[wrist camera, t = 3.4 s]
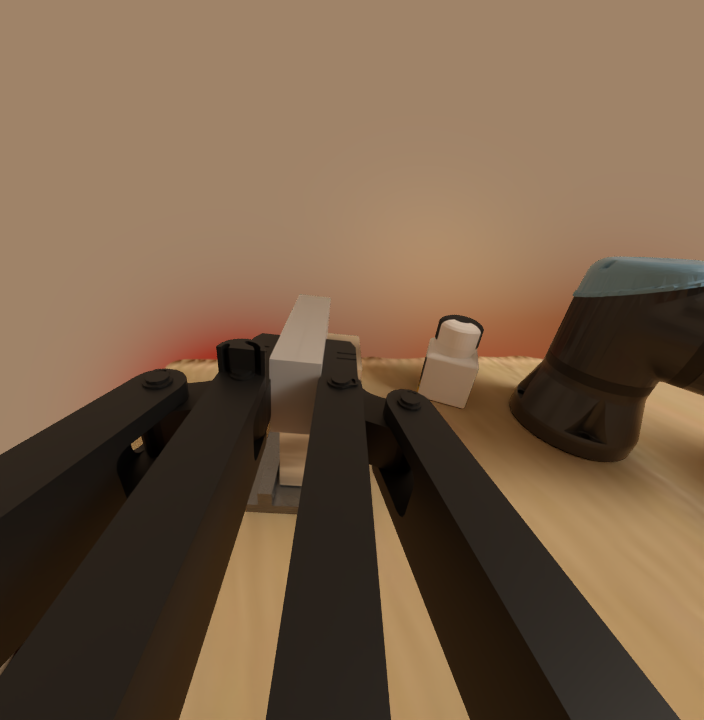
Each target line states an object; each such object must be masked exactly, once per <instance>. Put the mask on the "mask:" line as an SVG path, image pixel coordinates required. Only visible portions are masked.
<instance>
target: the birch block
mask: <svg viewBox="0 0 704 720" xmlns="http://www.w3.org/2000/svg"><path fill="white" fill-rule="evenodd" d="M327 339H332V340H341V341H350V342H351V343H352V344H353V345H354V346H355V347H356V357H357V371H358V379H359V380H360V381H361V376H362V361H361V351H360V341H359V336H352V335H341V334H331V333H328V335H327ZM308 442H309V435H306V434H294V433H281V432H280V485H293V486H302V481H303V474H304V468H305V461H306V455H307V448H308Z"/></svg>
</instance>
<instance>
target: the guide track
mask: <svg viewBox="0 0 704 720" xmlns="http://www.w3.org/2000/svg"><path fill="white" fill-rule="evenodd" d="M301 487H302V486H293V485H280V432H270V431H269V434H268V437H267V440H266V446H265V449H264V452H263V455H262V459H261V462H260V465H259V468H258V471H257V474H256V477H255V481H254V484H253V487H252V490H251V493H250V496H249V500H248V503H247V506H246V509H247V512H266V513H285V514H297V513H298V507H299V500H300V494H301Z"/></svg>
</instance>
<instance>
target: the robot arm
mask: <svg viewBox="0 0 704 720" xmlns="http://www.w3.org/2000/svg"><path fill="white" fill-rule="evenodd" d="M573 296H574V298H573V300H572V302H571V304H570V306H569V308H568V310H567V312H566V314H565V317H564V319H563V321H562V323H561V325H560V327H559V329H558V331H557V333H556V335H555V337H554V339H553V341H552V343H551V345H550V348H549V350H548V352H547V354H546V356H545V358H544V359H543V361H542V362H541V363H540V364H539V365H538V366H537V367H536V368H535V369H534V370H533V371H532V372H531V373H530V374H529V375H528V376H527V377H526V378H525V379H524V380H523V381H521V382H520V383H519V384H518V385H517V387H516V388H515V390H514V392H513V394H512V397H511V399H510V408H511V411H512V413H513V414H514V416H515V417H516V418H517V420H518V421H519V422H520V423H521V424H522V425H523V426H524V427H526V428H527V429H528V430H529V431H530V432H532V433H533V434H535V435H536V436H537V437H539V438H541V439H542V440H544V441H545V442H547V443H549V444H551V445H553V446H555V447H557V448H559V449H561V450H563V451H566V452H568V453H571V454H573V455H576V456H579V457H583V458H586V459H591V460H596V461H603V462H614V461H620V460H622V459H624V458H626V457H627V456H628V455H629V453H630V452H631V451H632V449H633V448H634V447H635V446H636V444H637V442H638V439H639V434H640V429H641V423H642V418H643V412H644V407H645V402H646V399H647V397H648V396H649V395H650V393H651V392H652V390H653V389H654V388H655V386H656V385H657V384H658V382H659V381H660V382H665V383H668V384H671V385H673V386H676V387H679V388H682V389H685V390H688V391H691V392H694V393H697V394H700V395H702V396H704V261H699V260H686V259H669V258H648V257H608V258H604V259H601V260H598V261H597V262H595V263H594V264H593V265H592V266H591V267H590V268H589V269H588V271H587V273H586V275H585V276H584V278H583V280H582V282H581V283H580V285H579V287H578V289H577V290H576V291H575V292H574V294H573ZM330 302H331V298H329V297H320V296H311V295H302V294H300V295H299V297H298V299H297V301H296V303H295V305H294V308H293V309H292V312H291V314H290V316H289V318H288V320H287V322H286V324H285V326H284V329H283V331H282V333H281V335H273V334H264V333H262V334H260V335H258V336H256V337H254V338H253V339H252V340H251V339H233V340H228V341H225V342H222V343H221V344H219V345H217V347H216V349H217V358H218V368H219V372H218V374H217V375H216V377H215V378H214V379H213V380H212V381H206V382H196V383H187V378H186V376H185V375H184V373H183V372H180V371H178V370H173V369H155V370H153V371H149V372H145V373H143V374H140V375H138V376H136V377H134V378H132V379H131V380H129V381H127V382H126V383H124V384H122V385H121V386H119V387H117V388H115V389H113V390H112V391H110V392H108V393H107V394H105V395H103V396H102V397H100V398H98V399H96V400H94V401H93V402H91V403H89V404H88V405H86V406H84V407H82V408H81V409H79V410H77V411H75V412H74V413H72V414H70V415H69V416H67V417H65V418H64V419H62V420H60V421H58V422H56V423H55V424H53V425H51V426H50V427H48V428H46V429H44V430H43V431H41V432H39V433H37V434H36V435H34V436H33V437H30V438H29V439H27V440H25V441H24V442H22V443H20V444H18V445H17V446H15V447H13V448H12V449H10V450H8V451H6V452H5V453H3V454H1V455H0V667H1V666H2V665H3V664H4V663H5V662H6V661H7V660H8V659H9V658H10V657H11V655H12V654H13V653H14V652H15V651H16V650H17V649H18V648H19V647H20V646H21V645H22V644H23V643H24V644H23V645H22V646H21V648H20V649H19V650H18V652H17V653H16V655H15V656H14V657H13V659H12V660H11V662H10V663H9V664H8V666H7V667H6V669H5V670H4V671H3V673H2V674H1V675H0V720H179V718H180V714H181V711H182V708H183V705H184V702H185V699H186V695H187V692H188V689H189V686H190V683H191V680H192V677H193V673H194V670H195V667H196V664H197V661H198V658H199V654H200V651H201V648H202V645H203V642H204V639H205V635H206V632H207V629H208V626H209V623H210V620H211V616H212V613H213V610H214V607H215V604H216V601H217V598H218V594H219V591H220V588H221V585H222V582H223V579H224V575H225V572H226V569H227V566H228V563H229V560H230V556H231V553H232V550H233V547H234V544H235V541H236V538H237V534H238V531H239V528H240V525H241V522H242V519H243V515H244V512H245V509H246V506H247V503H248V500H249V496H250V493H251V490H252V487H253V484H254V481H255V477H256V474H257V471H258V468H259V465H260V462H261V459H262V455H263V452H264V449H265V446H266V438H267V437H266V430H267V427H268V424H269V421H270V432H281V433H294V434H306V435H309V442H308V448H307V455H306V461H305V468H304V474H303V481H302V487H301V494H300V500H299V507H298V513H297V520H296V526H295V533H294V539H293V546H292V552H291V559H290V565H289V572H288V578H287V585H286V591H285V598H284V604H283V611H282V617H281V624H280V630H279V637H278V643H277V650H276V656H275V663H274V669H273V676H272V682H271V689H270V695H269V702H268V709H267V715H266V720H391V715H390V704H389V692H388V680H387V669H386V657H385V646H384V634H383V623H382V611H381V599H380V588H379V576H378V565H377V553H376V542H375V530H374V518H373V507H372V495H371V484H370V472H369V464H371V465H372V469H373V473H374V475H375V478H376V481H377V483H378V486H379V488H380V491H381V493H382V496H383V498H384V501H385V504H386V506H387V509H388V511H389V514H390V516H391V519H392V521H393V524H394V527H395V529H396V532H397V534H398V537H399V539H400V542H401V544H402V547H403V550H404V552H405V555H406V557H407V560H408V562H409V565H410V567H411V570H412V573H413V575H414V578H415V580H416V583H417V585H418V588H419V590H420V593H421V596H422V598H423V601H424V603H425V606H426V608H427V611H428V613H429V616H430V618H431V621H432V624H433V626H434V629H435V631H436V634H437V636H438V639H439V641H440V644H441V647H442V649H443V652H444V654H445V657H446V659H447V662H448V664H449V667H450V670H451V672H452V675H453V677H454V680H455V682H456V685H457V687H458V690H459V693H460V695H461V698H462V700H463V703H464V705H465V708H466V710H467V713H468V716H469V718H470V720H680V719H679V717H678V716H677V715H676V713H675V712H674V711H673V710H672V708H671V707H670V706H669V705H668V703H667V702H666V701H665V699H664V698H663V697H662V696H661V694H660V693H659V692H658V691H657V689H656V688H655V687H654V685H653V684H652V683H651V682H650V680H649V679H648V678H647V677H646V675H645V674H644V673H643V671H642V670H641V669H640V668H639V666H638V665H637V664H636V663H635V661H634V660H633V659H632V657H631V656H630V655H629V654H628V652H627V651H626V650H625V649H624V647H623V646H622V645H621V643H620V642H619V641H618V640H617V638H616V637H615V636H614V635H613V633H612V632H611V631H610V629H609V628H608V627H607V626H606V624H605V623H604V622H603V621H602V619H601V618H600V617H599V615H598V614H597V613H596V612H595V610H594V609H593V608H592V607H591V605H590V604H589V603H588V601H587V600H586V599H585V598H584V596H583V595H582V594H581V593H580V591H579V590H578V589H577V588H576V586H575V585H574V584H573V582H572V581H571V580H570V579H569V577H568V576H567V575H566V574H565V572H564V571H563V570H562V568H561V567H560V566H559V565H558V563H557V562H556V561H555V560H554V558H553V557H552V556H551V554H550V553H549V552H548V551H547V549H546V548H545V547H544V546H543V544H542V543H541V542H540V540H539V539H538V538H537V537H536V535H535V534H534V533H533V532H532V530H531V529H530V528H529V526H528V525H527V524H526V523H525V521H524V520H523V519H522V518H521V516H520V515H519V514H518V512H517V511H516V510H515V509H514V507H513V506H512V505H511V504H510V502H509V501H508V500H507V498H506V497H505V496H504V495H503V493H502V492H501V491H500V490H499V488H498V487H497V486H496V484H495V483H494V482H493V481H492V479H491V478H490V477H489V476H488V474H487V473H486V472H485V470H484V469H483V468H482V467H481V465H480V464H479V463H478V462H477V460H476V459H475V458H474V456H473V455H472V454H471V453H470V451H469V450H468V449H467V448H466V446H465V445H464V444H463V442H462V441H461V440H460V439H459V437H458V436H457V435H456V434H455V432H454V431H453V430H452V428H451V427H450V426H449V425H448V423H447V422H446V421H445V420H444V418H443V417H442V416H441V414H440V413H439V412H438V411H437V409H436V408H435V407H434V406H433V404H432V403H431V402H430V401H429V400H428V399H427V398H426V397H425V396H423V395H421V394H419V393H418V392H415V391H412V390H404V389H399V390H394V391H392V392H390V393H388V395H387V397H386V399H385V398H382V397H378V396H375V395H373V394H370V393H369V392H367V391H365V390H364V389H363V388H362V384H361V381H360V380H359V379H358V371H357V357H356V347H355V346H354V345H353V344H352V343H351V342H350V341H341V340H332V339H327V335H328V323H329V312H330ZM140 436H141V437H142V441H143V444H142V445H141V446H140V447H139V448H137V449H135V450H133V449H132V447H131V443H133V442H134V441H135V440H136V439H138V438H139V437H140ZM25 640H26V641H25ZM24 641H25V642H24Z"/></svg>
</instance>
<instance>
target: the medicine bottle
mask: <svg viewBox="0 0 704 720" xmlns="http://www.w3.org/2000/svg"><path fill="white" fill-rule="evenodd" d="M483 331H484V329H483V327H482V325H480V323H478V322H477V321H475V320H473V319H471V318H468V317H465V316H460V315H448V316H444V317H442V318H441V319H440V321H439V324H438V328H437V332H436V335H435V338H431V339H430V342H429V346H428V350H427V354H426V357H425V361H424V365H423V369H422V373H421V377H420V381H419V385H418V388H417V392H418V393H419V394H421V395H423V396H425V397H426V398H427V399H429V400H433V401H436V402H440V403H444V404H447V405H451V406H454V407H458V408H462V409H463V408H464V407H465V405H466V402H467V400H468V397H469V394H470V392H471V389H472V386H473V383H474V381H475V378H476V375H477V373H478V370H479V365H478V355H477V348H478V346H479V343H480V340H481V337H482V334H483Z"/></svg>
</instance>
